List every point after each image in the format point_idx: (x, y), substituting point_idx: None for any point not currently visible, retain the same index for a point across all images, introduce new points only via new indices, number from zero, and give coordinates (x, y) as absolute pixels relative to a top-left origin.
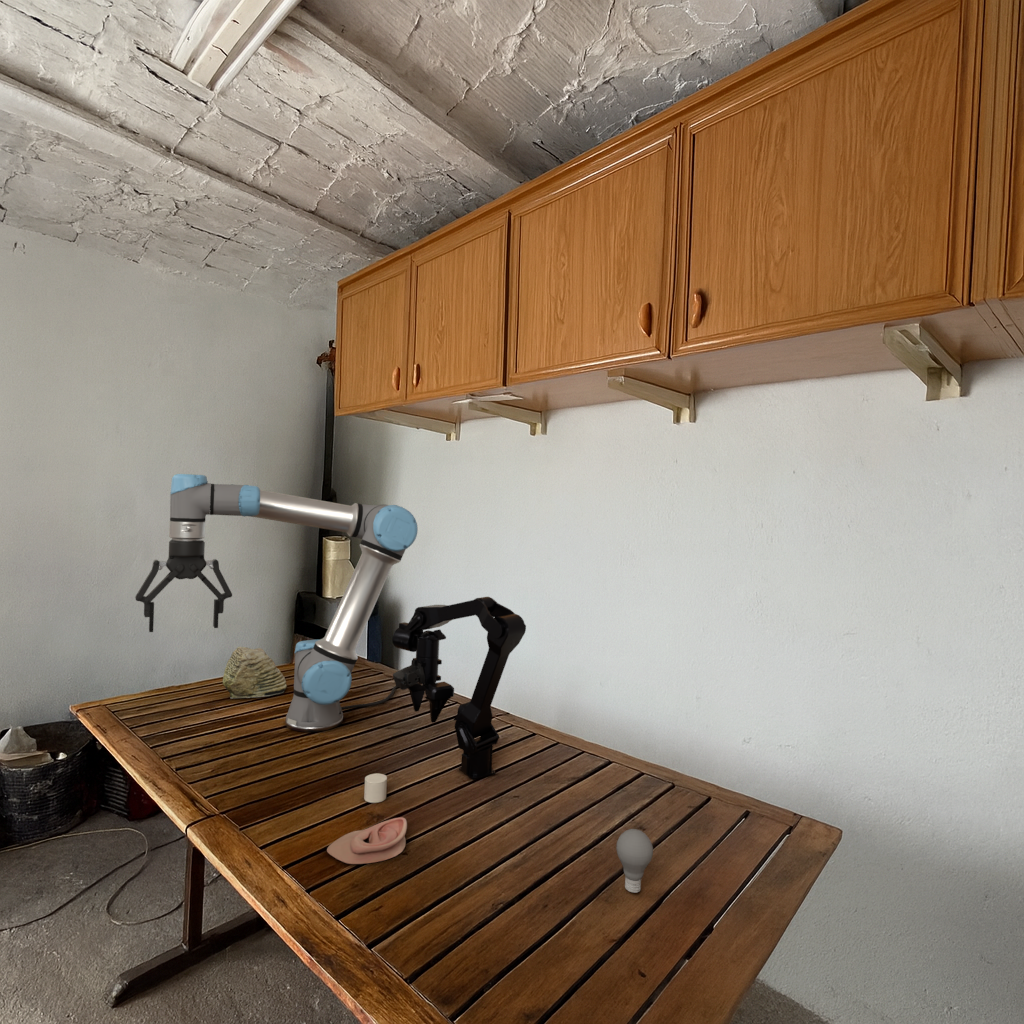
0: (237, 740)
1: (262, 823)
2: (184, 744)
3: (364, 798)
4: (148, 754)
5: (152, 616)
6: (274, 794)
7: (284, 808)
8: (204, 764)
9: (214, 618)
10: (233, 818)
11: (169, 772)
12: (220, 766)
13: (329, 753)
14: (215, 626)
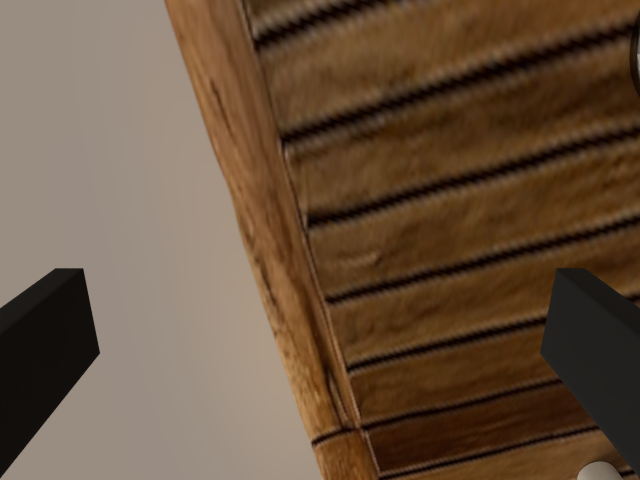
0: (471, 91)
1: (411, 477)
2: (338, 58)
3: (579, 475)
4: (249, 95)
5: (11, 451)
6: (457, 403)
7: (455, 451)
8: (367, 219)
9: (587, 379)
10: (376, 449)
11: (293, 231)
12: (396, 245)
13: (631, 275)
14: (553, 360)
